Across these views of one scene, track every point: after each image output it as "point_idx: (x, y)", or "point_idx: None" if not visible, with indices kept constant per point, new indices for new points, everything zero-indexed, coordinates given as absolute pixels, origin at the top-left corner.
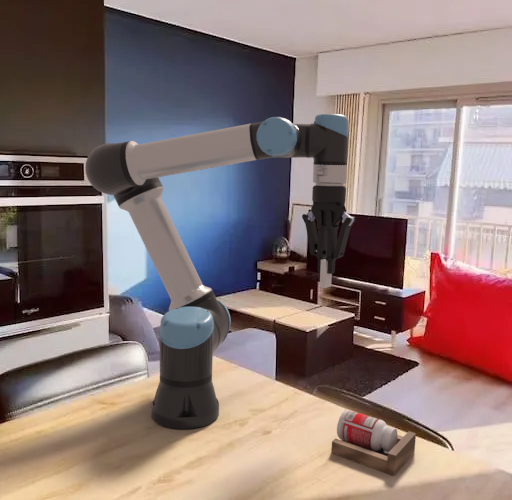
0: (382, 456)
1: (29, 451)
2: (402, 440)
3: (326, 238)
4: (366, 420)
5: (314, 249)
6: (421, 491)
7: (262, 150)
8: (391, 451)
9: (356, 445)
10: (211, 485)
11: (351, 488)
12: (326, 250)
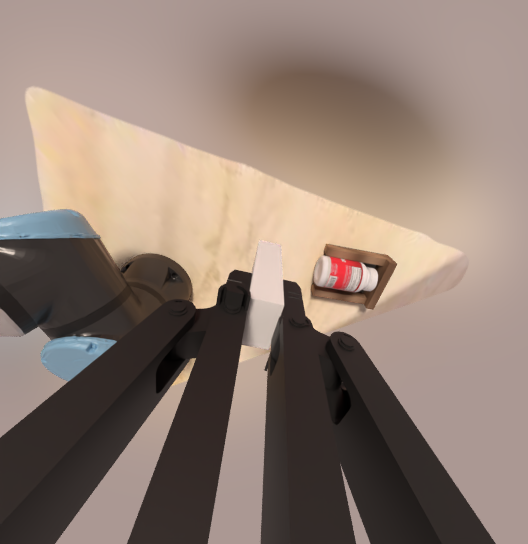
0: (359, 299)
1: None
2: (381, 283)
3: (225, 435)
4: (347, 287)
5: (179, 373)
6: (386, 308)
7: None
8: (369, 304)
9: None
10: (245, 352)
11: (334, 323)
12: (242, 338)
